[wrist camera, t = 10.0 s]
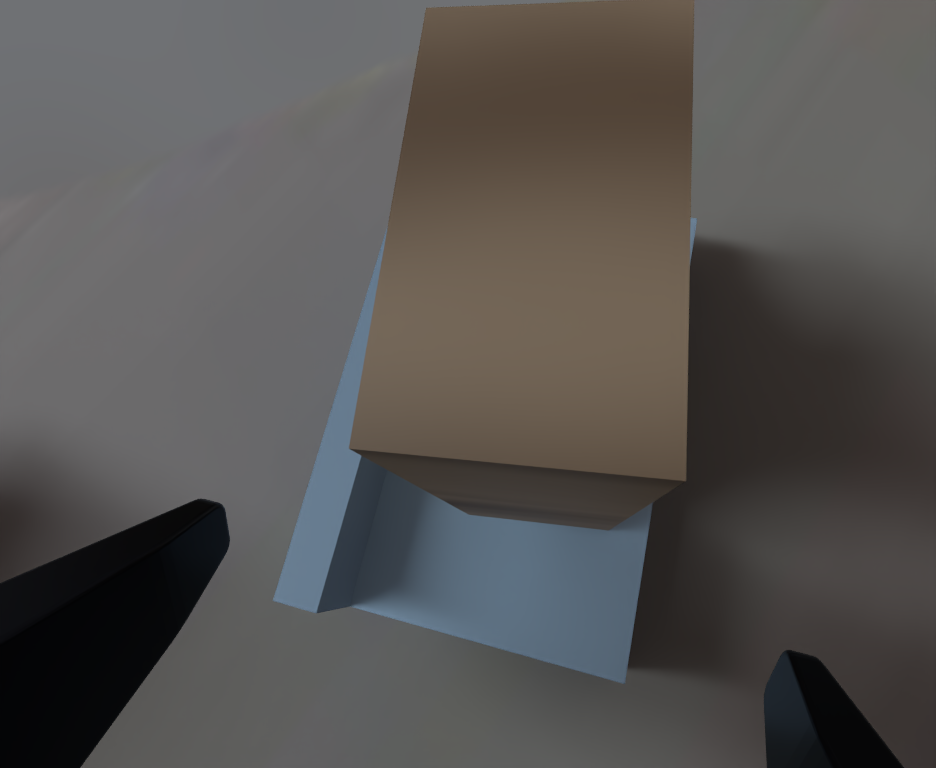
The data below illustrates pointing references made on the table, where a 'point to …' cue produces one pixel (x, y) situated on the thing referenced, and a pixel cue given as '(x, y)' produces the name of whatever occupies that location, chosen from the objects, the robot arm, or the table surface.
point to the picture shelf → (458, 555)
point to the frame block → (538, 264)
